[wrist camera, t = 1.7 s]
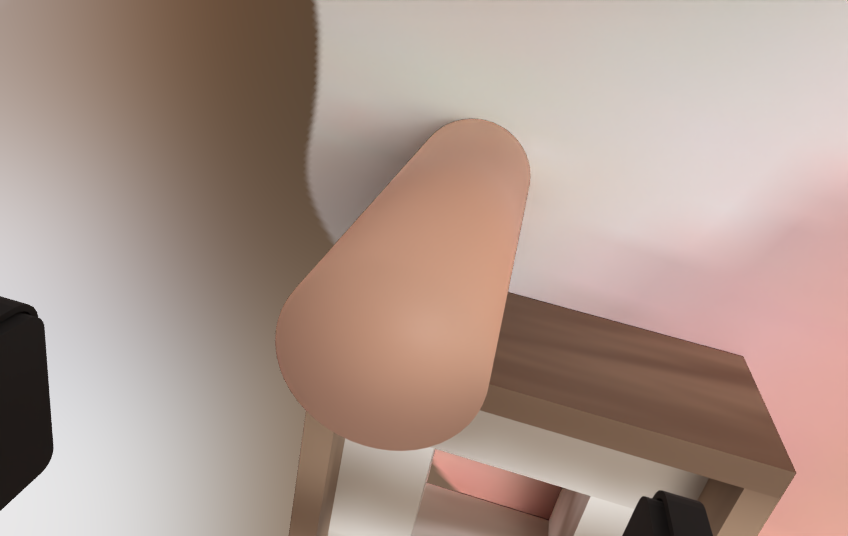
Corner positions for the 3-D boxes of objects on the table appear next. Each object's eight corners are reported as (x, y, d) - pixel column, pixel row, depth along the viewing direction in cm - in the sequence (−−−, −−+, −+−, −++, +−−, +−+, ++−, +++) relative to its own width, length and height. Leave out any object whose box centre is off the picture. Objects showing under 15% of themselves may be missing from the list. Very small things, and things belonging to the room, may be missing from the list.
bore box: (373, 255, 24) (316, 334, 19) (743, 356, 23) (796, 473, 17) (325, 526, 31) (274, 641, 25) (609, 617, 29) (617, 760, 24)
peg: (428, 106, 21) (285, 233, 11) (544, 134, 21) (516, 297, 10) (407, 214, 23) (267, 416, 12) (513, 242, 23) (462, 475, 12)
